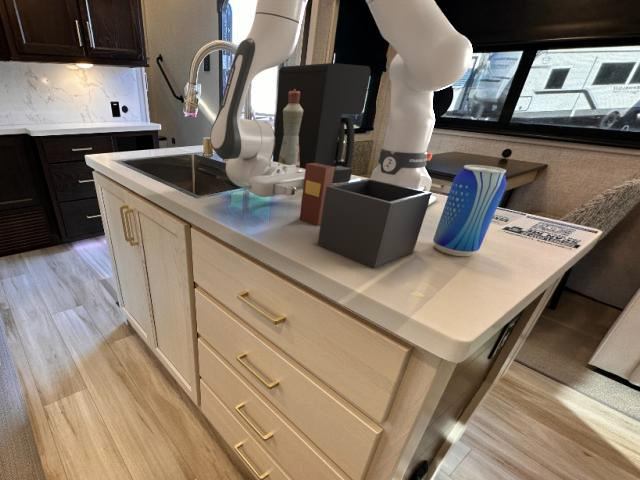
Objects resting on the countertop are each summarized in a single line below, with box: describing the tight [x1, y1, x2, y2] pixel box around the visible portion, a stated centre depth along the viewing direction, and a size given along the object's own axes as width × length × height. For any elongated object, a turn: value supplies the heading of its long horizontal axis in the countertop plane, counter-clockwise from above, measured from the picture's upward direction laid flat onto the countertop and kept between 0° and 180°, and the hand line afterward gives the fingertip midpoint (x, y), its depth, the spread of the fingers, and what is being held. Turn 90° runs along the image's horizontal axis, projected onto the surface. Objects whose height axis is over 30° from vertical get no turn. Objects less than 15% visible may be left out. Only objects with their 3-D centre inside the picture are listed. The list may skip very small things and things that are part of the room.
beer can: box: [432, 164, 508, 257], centre depth 66 cm, size 8×8×16 cm
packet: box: [299, 163, 335, 226], centre depth 80 cm, size 3×6×13 cm, turn 37°
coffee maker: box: [272, 62, 371, 184], centre depth 118 cm, size 28×20×35 cm
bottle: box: [278, 89, 303, 168], centre depth 108 cm, size 9×9×28 cm
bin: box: [317, 178, 433, 269], centre depth 66 cm, size 14×14×12 cm
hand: (306, 189), depth 82 cm, fingers open, 8 cm apart
